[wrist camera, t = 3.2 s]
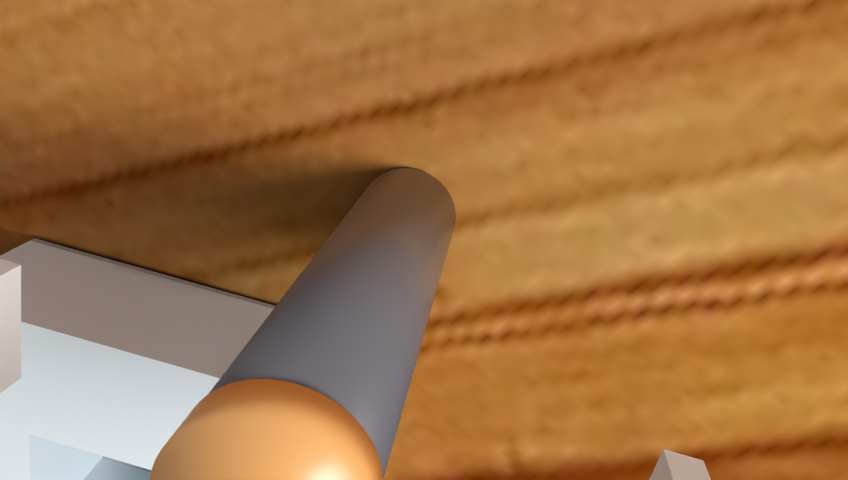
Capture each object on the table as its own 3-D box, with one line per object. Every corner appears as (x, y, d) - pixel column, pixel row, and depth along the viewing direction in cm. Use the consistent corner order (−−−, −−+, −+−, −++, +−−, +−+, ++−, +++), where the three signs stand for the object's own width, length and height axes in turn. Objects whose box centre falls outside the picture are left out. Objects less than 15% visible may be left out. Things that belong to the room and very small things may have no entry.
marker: (350, 246, 24) (142, 561, 11) (369, 155, 22) (157, 389, 9) (443, 271, 23) (346, 623, 11) (467, 181, 22) (391, 457, 9)
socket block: (35, 503, 31) (-51, 594, 26) (34, 237, 25) (-75, 294, 21) (277, 575, 30) (233, 682, 26) (328, 320, 25) (284, 397, 20)
